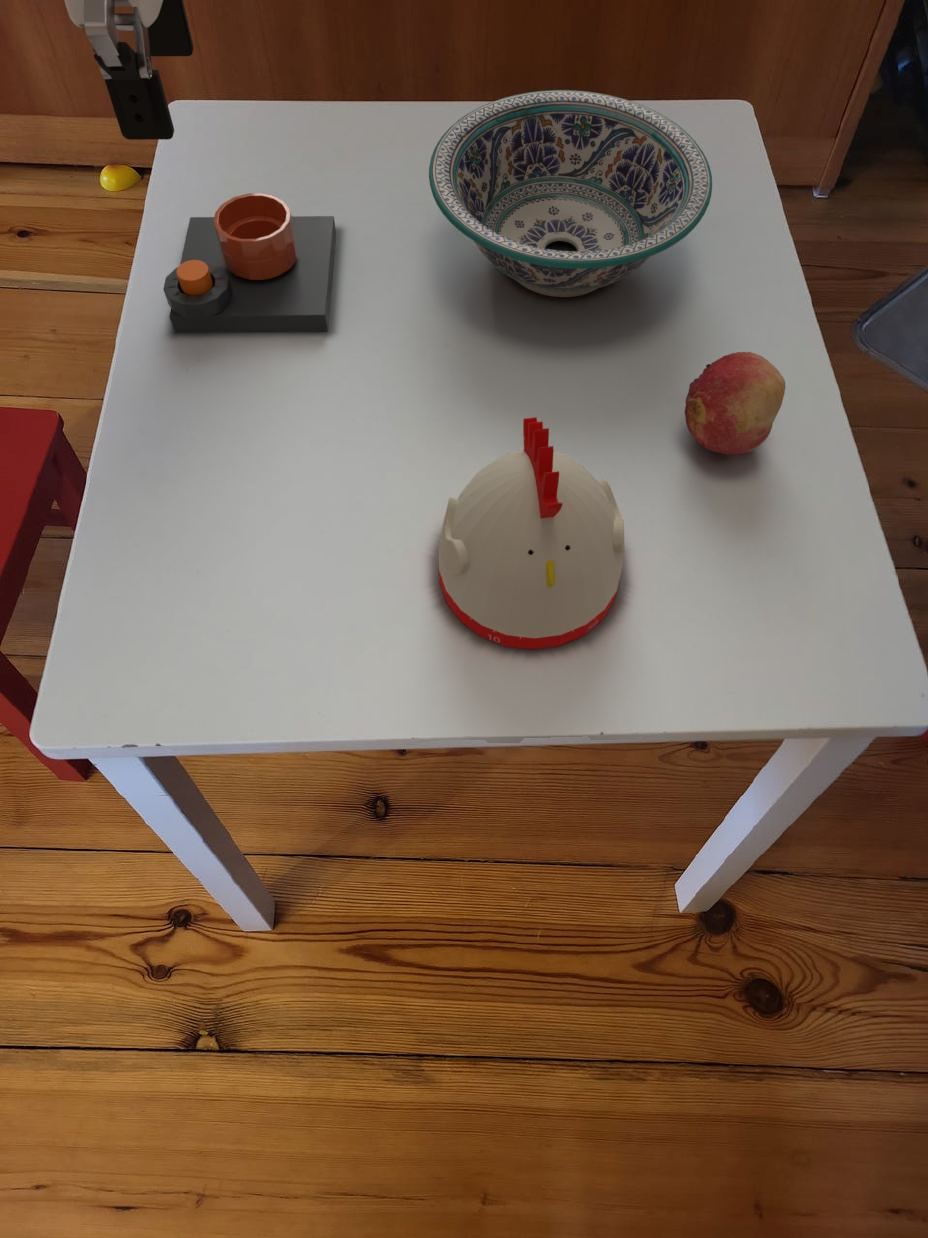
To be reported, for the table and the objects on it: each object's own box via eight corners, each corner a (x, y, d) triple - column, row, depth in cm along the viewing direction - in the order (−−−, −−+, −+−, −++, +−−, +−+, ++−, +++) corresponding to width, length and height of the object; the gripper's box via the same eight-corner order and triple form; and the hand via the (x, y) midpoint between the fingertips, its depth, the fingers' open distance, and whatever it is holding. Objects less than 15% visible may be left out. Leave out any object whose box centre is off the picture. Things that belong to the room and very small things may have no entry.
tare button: (179, 296, 81) (174, 280, 80) (183, 275, 82) (178, 259, 81) (210, 296, 81) (206, 280, 80) (214, 275, 82) (210, 259, 81)
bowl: (692, 193, 94) (714, 101, 86) (685, 366, 81) (711, 277, 73) (453, 170, 96) (452, 77, 87) (410, 335, 83) (405, 245, 75)
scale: (170, 335, 83) (159, 304, 80) (191, 233, 90) (182, 201, 87) (327, 334, 83) (322, 303, 80) (336, 232, 90) (331, 200, 87)
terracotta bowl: (221, 284, 84) (209, 241, 80) (229, 236, 87) (218, 193, 83) (295, 284, 84) (287, 241, 80) (300, 236, 87) (293, 192, 83)
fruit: (730, 490, 74) (758, 422, 67) (656, 440, 77) (675, 370, 70) (785, 438, 77) (817, 368, 70) (711, 391, 80) (735, 319, 73)
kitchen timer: (452, 660, 66) (450, 540, 53) (427, 510, 73) (420, 371, 60) (638, 635, 67) (680, 512, 54) (596, 490, 74) (625, 349, 61)
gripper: (29, -311, 50) (125, 25, 64) (-55, -184, 41) (78, 173, 56) (167, -309, 50) (231, 25, 65) (113, -183, 41) (202, 172, 56)
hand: (160, 93), depth 60 cm, fingers open, 9 cm apart
